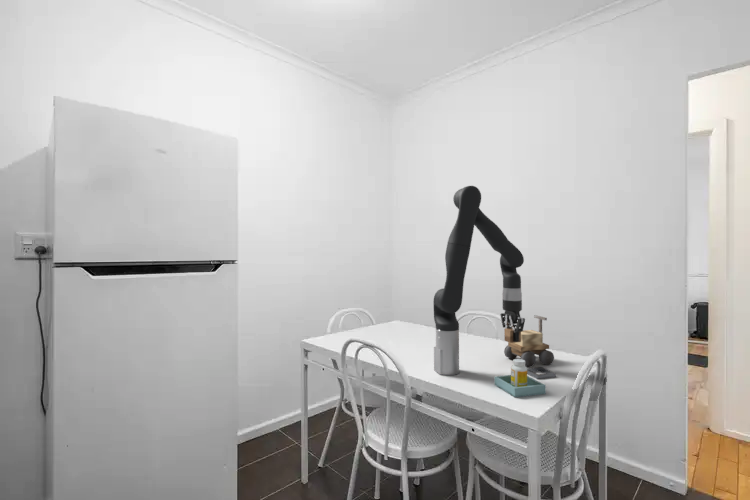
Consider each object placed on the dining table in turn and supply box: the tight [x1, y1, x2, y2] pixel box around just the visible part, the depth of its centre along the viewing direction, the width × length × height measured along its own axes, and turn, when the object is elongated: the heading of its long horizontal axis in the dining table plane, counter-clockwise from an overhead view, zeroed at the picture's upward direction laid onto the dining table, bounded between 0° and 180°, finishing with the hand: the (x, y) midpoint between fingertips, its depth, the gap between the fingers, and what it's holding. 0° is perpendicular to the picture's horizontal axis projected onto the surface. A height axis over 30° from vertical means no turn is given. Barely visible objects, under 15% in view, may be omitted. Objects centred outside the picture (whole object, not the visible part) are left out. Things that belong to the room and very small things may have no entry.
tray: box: [494, 374, 547, 398], centre depth 132 cm, size 12×12×3 cm
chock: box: [504, 327, 521, 343], centre depth 156 cm, size 5×4×5 cm
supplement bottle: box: [510, 358, 528, 387], centre depth 132 cm, size 5×5×10 cm
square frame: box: [527, 366, 557, 380], centre depth 147 cm, size 8×8×2 cm
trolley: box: [503, 314, 555, 368], centre depth 164 cm, size 15×14×19 cm
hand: (512, 339), depth 156 cm, fingers closed on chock, 4 cm apart
